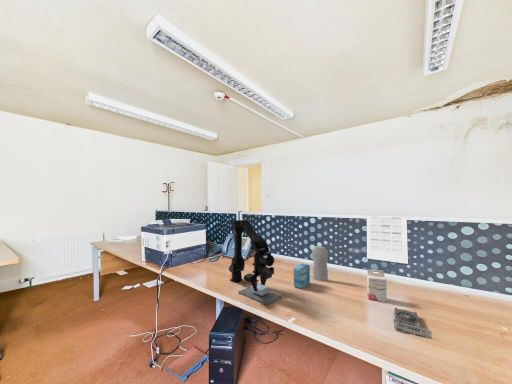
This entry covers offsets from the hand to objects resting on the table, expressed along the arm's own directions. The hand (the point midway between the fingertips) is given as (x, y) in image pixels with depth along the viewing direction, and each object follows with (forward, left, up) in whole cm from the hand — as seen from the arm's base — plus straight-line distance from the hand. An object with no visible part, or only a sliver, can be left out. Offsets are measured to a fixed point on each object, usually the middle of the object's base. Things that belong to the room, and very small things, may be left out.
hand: (259, 289), depth 122 cm
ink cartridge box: (+49, +39, -3) cm, 63 cm away
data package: (+10, +28, -3) cm, 30 cm away
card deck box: (0, 0, -1) cm, 1 cm away
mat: (0, 0, -3) cm, 3 cm away
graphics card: (+66, +23, -4) cm, 70 cm away
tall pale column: (+14, +44, -3) cm, 46 cm away
